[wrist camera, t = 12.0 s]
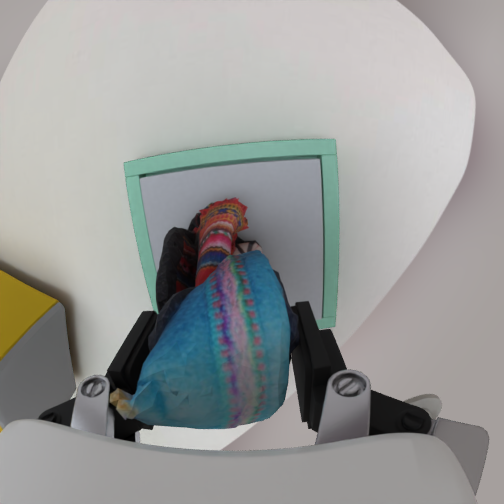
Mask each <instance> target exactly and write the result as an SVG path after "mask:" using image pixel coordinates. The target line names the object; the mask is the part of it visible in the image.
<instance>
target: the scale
mask: <svg viewBox="0 0 504 504" xmlns="http://www.w3.org/2000/svg"><path fill="white" fill-rule="evenodd" d="M336 154H337V151H336V140H335V139H300V140H279V141H264V142H252V143H241V144H231V145H222V146H214V147H207V148H199V149H193V150H186V151H180V152H174V153H168V154H163V155H157V156H152V157H147V158H142V159H137V160H133V161H128V162H124V170H125V177H126V185H127V192H128V198H129V204H130V210H131V216H132V221H133V226H134V231H135V236H136V241H137V246H138V251H139V255H140V259H141V264H142V268H143V272H144V276H145V280H146V284H147V288H148V291H149V295H150V299H151V302H152V306H153V309H154V311H156V312H157V314H158V308H157V303H156V276H157V271H156V267H155V262H154V258H153V253H152V248H151V243H150V238H149V233H148V228H147V222H146V217H145V211H144V205H143V199H142V192H141V186H140V178H143V177H147V176H153V175H158V174H164V173H170V172H177V171H183V170H190V169H197V168H205V167H212V166H221V165H230V164H239V163H250V162H262V161H275V160H292V159H320V166H321V184H322V209H323V299H322V319H319V320H316V322H317V325H318V328H319V329H323V328H330V327H335V323H336V309H337V293H338V270H339V187H338V165H337V155H336Z"/></svg>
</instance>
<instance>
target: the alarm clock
mask: <svg viewBox="0 0 504 504" xmlns="http://www.w3.org/2000/svg"><path fill="white" fill-rule="evenodd" d="M75 390H76V384H75V379H74V374H73V369H72V363H71V357H70V351H69V344H68V336H67V328H66V318H65V308H64V307H63V305H62V304H61V303H59V301H58V300H56V299H54V298H52V297H50V296H48V295H46V294H44V293H42V292H40V291H38V290H36V289H34V288H32V287H30V286H28V285H27V284H25V283H23V282H21V281H19V280H17V279H16V278H14V277H12V276H10V275H9V274H7V273H5V272H3V271H2V270H0V433H1V431H2V430H3V429H4V428H5V427H6V426H7V425H8V424H9V423H11V422H13V421H16V420H21V419H36V420H38V418H39V416H40V415H41V414H42V413H43V412H44V411H46V410H48V409H50V408H52V407H55V406H57V405H59V404H62V403H64V402H66V401H68V400H70V398H71V397H72V395H73V393H74V392H75Z"/></svg>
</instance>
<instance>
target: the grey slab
mask: <svg viewBox="0 0 504 504" xmlns="http://www.w3.org/2000/svg"><path fill="white" fill-rule="evenodd" d="M140 186H141V192H142V199H143V205H144V211H145V217H146V222H147V228H148V233H149V238H150V243H151V248H152V253H153V258H154V262H155V267H156V271H158V269H159V261H160V258H161V254H162V249H163V242H164V238H165V236H166V234H167V233H168V231H169V230H170V229H172V228H173V227H177V228H184V229H187V230H188V227H189V225H190V223H191V220H192V219H193V218H194V217H195V215H196V213H201V212H200V211H199V210H201V209H204V208H205V207H206V206H208V205H209V204H210V203H211V202H212V203H215V202H216V201H223V200H225V199H226V198H227V199H228V200H229V199H231V198H234V197H236V199H238V198H239V199H238V201H239V202H240V203H242V204H243V205H245V206H247V207H248V208H247V210H246V213H245V215H244V217H246V219H247V220H248V225H247V226H248V227H249V228H248V229H245V230H242V231H240V232H237V234H238V235H237V236H238V237H240V238H241V239H243V240H244V241H253V240H256V241H257V242H258V243H259V245H260V246H261V247H262V251H263V254H264V255H265V256H266V257H267V258H268V260H269V263H270V265H271V267H272V269H273V270H275V271H277V272H279V275H280V279H281V282H282V283H283V286H284V289H285V292H286V295H287V299H288V303H289V305H290V307H291V306H295V303H296V302H302V301H309V303H310V306H311V308H312V311H313V314H314V317H315V320H319V319H322V299H323V209H322V184H321V166H320V159H292V160H275V161H262V162H250V163H239V164H230V165H221V166H212V167H205V168H197V169H190V170H183V171H177V172H170V173H164V174H158V175H153V176H147V177H143V178H140Z"/></svg>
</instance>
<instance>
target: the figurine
mask: <svg viewBox="0 0 504 504" xmlns="http://www.w3.org/2000/svg"><path fill="white" fill-rule="evenodd" d="M238 199H239V198H238ZM238 199H236V197H234V198H231V199H229V200H228V199H227V198H226V199H225V200H223V201H216V202H215V203H212V202H211V203H210V204H209V205H208V206H206V207H205V208H204V209H201V210H199V211H200V212H201V213H196V215H195V217H194V218H193V219H192V220H191V223H190V225H189V227H188V230H187V229H184V228H177V227H173V228H172V229H170V230H169V231H168V233H167V234H166V236H165V238H164V242H163V249H162V254H161V258H160V261H159V269H158V271H157V276H156V303H157V308H158V315H157V319H156V324H155V328H154V330H153V331H152V332H151V334H150V335H149V337H148V346H149V350H150V353H149V355H148V357H147V359H146V360H145V362H144V363H143V366H142V370H141V374H140V378H139V381H138V384H137V390H136V393H135V394H134V395H131V394H129V393H127V392H125V391H123V390H121V389H119V388H117V389H116V391H114V392H113V393H111V394H110V403H112V404H113V405H114V406H116V407H117V408H116V410H117V411H118V412H119V413H120V414H121V416H122V417H123V418H124V419H125V420H126V418H129V419H133V418H135V419H137V420H139V421H141V422H143V423H145V424H147V425H158V426H171V427H187V428H195V429H227V428H235V427H237V426H238V425H245V424H250V423H254V422H257V421H263V420H265V419H268V418H270V417H271V416H272V415H273V414H274V413H275V412H276V411H277V410H278V409H279V408H280V407H281V406H282V405H283V402H284V400H285V396H286V391H287V386H288V377H289V364H290V361H291V353H292V352H293V350H294V349H295V348H296V347H297V346H298V345H299V339H300V337H299V331H298V327H297V326H298V315H296V314H295V313H294V312H293V311H292V309H291V307H290V305H289V303H288V299H287V295H286V292H285V289H284V286H283V283H282V282H281V279H280V275H279V272H277V271H275V270H273V269H272V267H271V265H270V263H269V260H268V258H267V257H266V256H265V255H264V254H263V251H262V247H261V246H260V245H259V243H258V242H257V241H256V240H253V241H244V240H243V239H241V238H240V237H238V236H237V235H238V234H237V232H240V231H242V230H245V229H248V228H249V227H248V226H247V225H248V220H247V219H246V217H244V215H245V213H246V210H247V208H248V207H247V206H245V205H243V204H242V203H240V202H239V201H238Z"/></svg>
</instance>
